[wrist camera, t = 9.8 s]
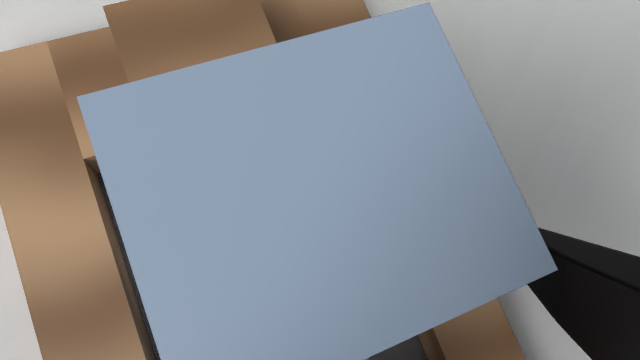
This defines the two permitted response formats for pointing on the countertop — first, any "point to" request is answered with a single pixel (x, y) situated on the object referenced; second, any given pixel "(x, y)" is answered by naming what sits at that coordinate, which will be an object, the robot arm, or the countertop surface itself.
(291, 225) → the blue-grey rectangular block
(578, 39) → the countertop surface
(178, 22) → the wooden block stand
